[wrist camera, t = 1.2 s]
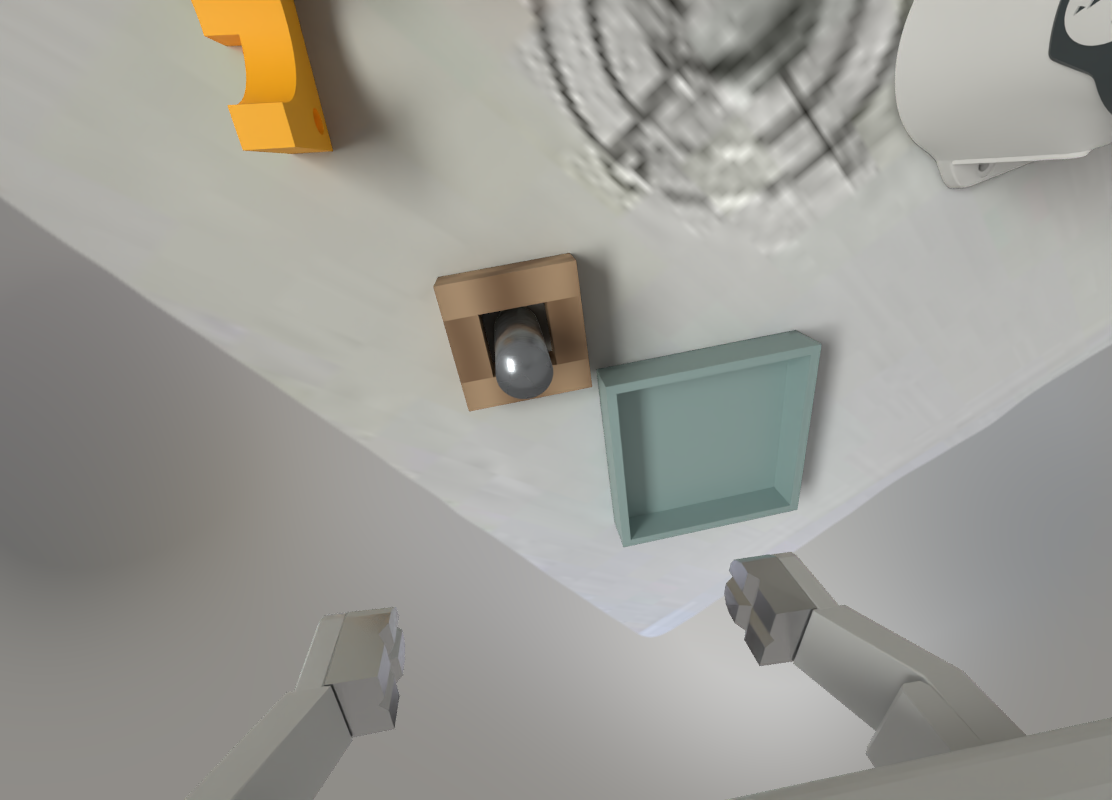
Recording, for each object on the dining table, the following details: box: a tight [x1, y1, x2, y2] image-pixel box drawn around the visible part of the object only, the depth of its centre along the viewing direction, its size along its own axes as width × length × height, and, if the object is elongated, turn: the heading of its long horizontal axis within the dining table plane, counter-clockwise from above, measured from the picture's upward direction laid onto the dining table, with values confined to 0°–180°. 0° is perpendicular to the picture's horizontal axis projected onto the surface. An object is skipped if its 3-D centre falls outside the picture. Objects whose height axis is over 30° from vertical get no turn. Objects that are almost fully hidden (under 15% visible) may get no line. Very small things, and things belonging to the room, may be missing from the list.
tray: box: [597, 330, 822, 547], centre depth 41 cm, size 18×18×4 cm
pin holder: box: [433, 253, 592, 411], centre depth 34 cm, size 10×10×3 cm
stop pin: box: [494, 307, 553, 399], centre depth 32 cm, size 4×4×9 cm
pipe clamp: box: [191, 0, 333, 154], centre depth 23 cm, size 12×4×6 cm, turn 4°
